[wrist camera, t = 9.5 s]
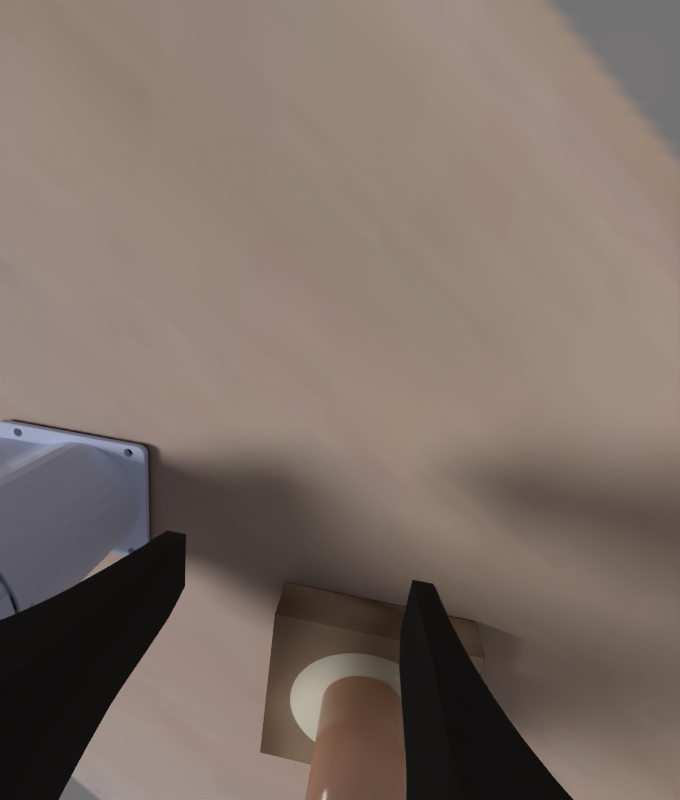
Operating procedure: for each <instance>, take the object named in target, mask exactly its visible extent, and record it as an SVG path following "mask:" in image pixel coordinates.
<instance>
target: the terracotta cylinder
mask: <svg viewBox="0 0 680 800" xmlns="http://www.w3.org/2000/svg"><path fill="white" fill-rule="evenodd" d="M305 800H406V766H405V742H404V728H403V715H402V701H401V698H400V697H399V695H398V694H397V693H396V692H395V691H394V690H393V689H392V688H391V687H389V686H388V685H386V684H385V683H383V682H381V681H378V680H376V679H373V678H368V677H362V676H351V677H345V678H342V679H339V680H337V681H335V682H333V683H332V684H330V685H329V686H328V687H327V689H326V690H325V692H324V694H323V698H322V704H321V710H320V716H319V722H318V728H317V734H316V740H315V746H314V751H313V757H312V763H311V769H310V775H309V781H308V787H307V793H306V799H305Z"/></svg>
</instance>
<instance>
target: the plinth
mask: <svg viewBox="0 0 680 800" xmlns="http://www.w3.org/2000/svg"><path fill="white" fill-rule="evenodd" d="M405 610H406V607H402V606H397V605H393V604H388V603H383V602H378V601H373V600H368V599H363V598H359V597H354V596H349V595H344V594H339V593H334V592H330V591H325V590H320V589H315V588H310V587H305V586H300V585H296V584H291V583H286V584H285V587H284V590H283V593H282V595H281V598H280V601H279V604H278V607H277V610H276V613H275V619H274V629H273V638H272V647H271V657H270V666H269V675H268V685H267V694H266V704H265V713H264V722H263V732H262V741H261V750H260V752H262V753H266V754H270V755H274V756H278V757H282V758H287V759H291V760H295V761H299V762H303V763H307V764H311V763H312V757H313V751H314V746H315V740H316V734H317V728H318V722H319V716H320V710H321V704H322V698H323V694H324V692H325V690H326V689H327V687H328V686H329V685H330V684H332V683H333V682H335V681H337V680H339V679H342V678H345V677H351V676H362V677H368V678H373V679H376V680H378V681H381V682H383V683H385V684H386V685H388V686H389V687H391V688H392V689H393V690H394V691H395V692H396V693H397V694H398V695H399V697H400V698H401V687H400V672H399V657H400V631H401V626H402V622H403V618H404V614H405ZM448 617H449V619H450V621H451V623H452V625H453V627H454V629H455V631H456V633H457V635H458V637H459V639H460V641H461V642H462V644H463V646H464V648H465V650H466V652H467V654H468V655H469V657H470V659H471V661H472V662H473V664H474V666H475V668H476V669H477V671H478V673H479V674H480V673H481V670H482V667H483V664H484V661H485V656H484V652H483V648H482V644H481V639H480V635H479V631H478V627H477V623H476V622H475V621H470V620H465V619H461V618H456V617H451V616H448ZM405 766H406V755H405Z"/></svg>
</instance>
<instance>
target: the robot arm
mask: <svg viewBox="0 0 680 800" xmlns="http://www.w3.org/2000/svg"><path fill="white" fill-rule="evenodd" d="M20 430H21V432H22V433H21V432H20ZM128 449H129V450H131V451H132V453H133V454H131V453H130V452H129V450H128ZM133 549H134V550H135V551H134V550H133ZM185 551H186V534H181V533H176V532H171V531H166V532H165V533H163V534H161V535H159V536H158V537H156V538H155V539H153V540H151V541H150V535H149V481H148V451H147V449H146V448H145V447H144V446H143V445H140V444H135V443H129V442H124V441H119V440H113V439H108V438H102V437H97V436H91V435H86V434H81V433H75V432H70V431H64V430H59V429H53V428H48V427H43V426H37V425H32V424H26V423H21V422H15V421H10V420H2V421H0V800H59V798H60V796H61V794H62V792H63V790H64V788H65V786H66V784H67V782H68V781H69V779H70V777H71V775H72V773H73V771H74V770H75V768H76V766H77V764H78V762H79V760H80V758H81V757H82V755H83V753H84V751H85V749H86V747H87V745H88V744H89V742H90V740H91V738H92V737H93V735H94V733H95V731H96V729H97V728H98V726H99V724H100V722H101V721H102V719H103V717H104V715H105V713H106V712H107V710H108V708H109V706H110V705H111V703H112V702H113V700H114V699H115V697H116V695H117V694H118V692H119V691H120V689H121V688H122V686H123V685H124V683H125V682H126V680H127V679H128V677H129V676H130V674H131V673H132V671H133V670H134V668H135V667H136V665H137V664H138V662H139V661H140V660H141V658H142V657H143V655H144V654H145V652H146V651H147V649H148V648H149V646H150V645H151V643H152V642H153V640H154V639H155V637H156V636H157V634H158V633H159V631H160V630H161V628H162V627H163V625H164V624H165V622H166V621H167V619H168V618H169V616H170V614H171V612H172V610H173V608H174V607H175V605H176V603H177V601H178V599H179V597H180V595H181V593H182V591H183V589H184V587H185ZM109 553H113V554H118V555H122V556H125V557H124V558H122V559H120V560H119V561H117V562H115V563H114V564H112V565H110V566H109V567H107V568H105V569H104V570H102V571H100V572H98V573H96V574H95V575H93V576H91V577H89V578H87V579H85V580H84V581H82V580H83V579H84V578H85V577H86V576H87V575H88V574H89V573H90V572H91V571H92V570H93V569H94V568H95V567H96V566H97V565H98V564H99V563H100V562H101V561H102V560H103V559H104V558H105V557H106V556H107V555H108V554H109ZM81 581H82V582H81ZM399 672H400V687H401V701H402V715H403V728H404V742H405V755H406V800H573V799H572V798H571V796H570V795H569V794H568V793H567V792H566V791H565V790H564V789H563V787H562V786H561V785H560V784H559V783H558V782H557V781H556V779H555V778H554V777H553V776H552V775H551V773H550V772H549V771H548V770H547V768H546V767H545V766H544V765H543V763H542V762H541V761H540V760H539V758H538V757H537V756H536V755H535V753H534V752H533V751H532V750H531V748H530V747H529V746H528V745H527V743H526V742H525V741H524V740H523V738H522V737H521V735H520V734H519V733H518V731H517V730H516V729H515V727H514V726H513V724H512V723H511V722H510V720H509V719H508V717H507V716H506V715H505V713H504V712H503V710H502V709H501V707H500V706H499V704H498V703H497V701H496V700H495V698H494V697H493V695H492V694H491V692H490V691H489V689H488V687H487V686H486V684H485V683H484V681H483V679H482V678H481V676H480V674H479V673H478V671H477V669H476V668H475V666H474V664H473V662H472V661H471V659H470V657H469V655H468V654H467V652H466V650H465V648H464V646H463V644H462V642H461V641H460V639H459V637H458V635H457V633H456V631H455V629H454V627H453V625H452V623H451V621H450V619H449V617H448V615H447V613H446V610H445V608H444V606H443V604H442V602H441V599H440V597H439V595H438V592H437V590H436V588H435V586H434V585H433V584H431V583H426V582H421V581H416V580H412V584H411V589H410V593H409V597H408V601H407V605H406V610H405V614H404V618H403V622H402V626H401V631H400V657H399Z"/></svg>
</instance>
